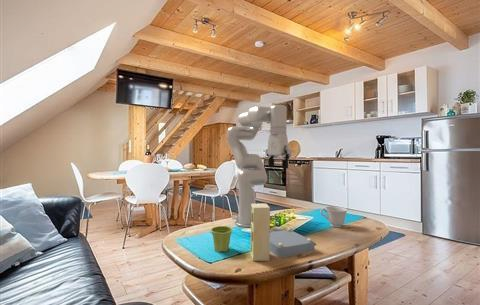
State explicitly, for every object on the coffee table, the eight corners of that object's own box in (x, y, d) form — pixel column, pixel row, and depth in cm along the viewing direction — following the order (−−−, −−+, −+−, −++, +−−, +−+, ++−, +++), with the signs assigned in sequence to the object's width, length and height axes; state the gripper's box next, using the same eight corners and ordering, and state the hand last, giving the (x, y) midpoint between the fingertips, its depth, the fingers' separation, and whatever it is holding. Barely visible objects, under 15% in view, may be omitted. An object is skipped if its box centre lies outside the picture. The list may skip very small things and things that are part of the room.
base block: (279, 257, 104) (279, 245, 104) (257, 242, 120) (258, 231, 120) (314, 251, 111) (314, 239, 111) (289, 237, 128) (290, 227, 128)
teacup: (318, 222, 156) (318, 205, 156) (343, 223, 154) (344, 206, 154) (321, 228, 144) (322, 210, 144) (349, 229, 142) (350, 211, 142)
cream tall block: (248, 252, 108) (249, 203, 108) (265, 252, 109) (266, 203, 109) (250, 261, 100) (252, 207, 100) (269, 260, 101) (270, 207, 101)
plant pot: (224, 255, 105) (224, 234, 105) (206, 250, 110) (206, 230, 110) (236, 248, 113) (236, 228, 113) (219, 243, 118) (219, 224, 118)
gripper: (260, 132, 127) (260, 167, 127) (284, 129, 112) (284, 169, 112) (272, 133, 131) (272, 166, 131) (297, 130, 116) (297, 168, 116)
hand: (277, 167), depth 121 cm, fingers open, 9 cm apart
